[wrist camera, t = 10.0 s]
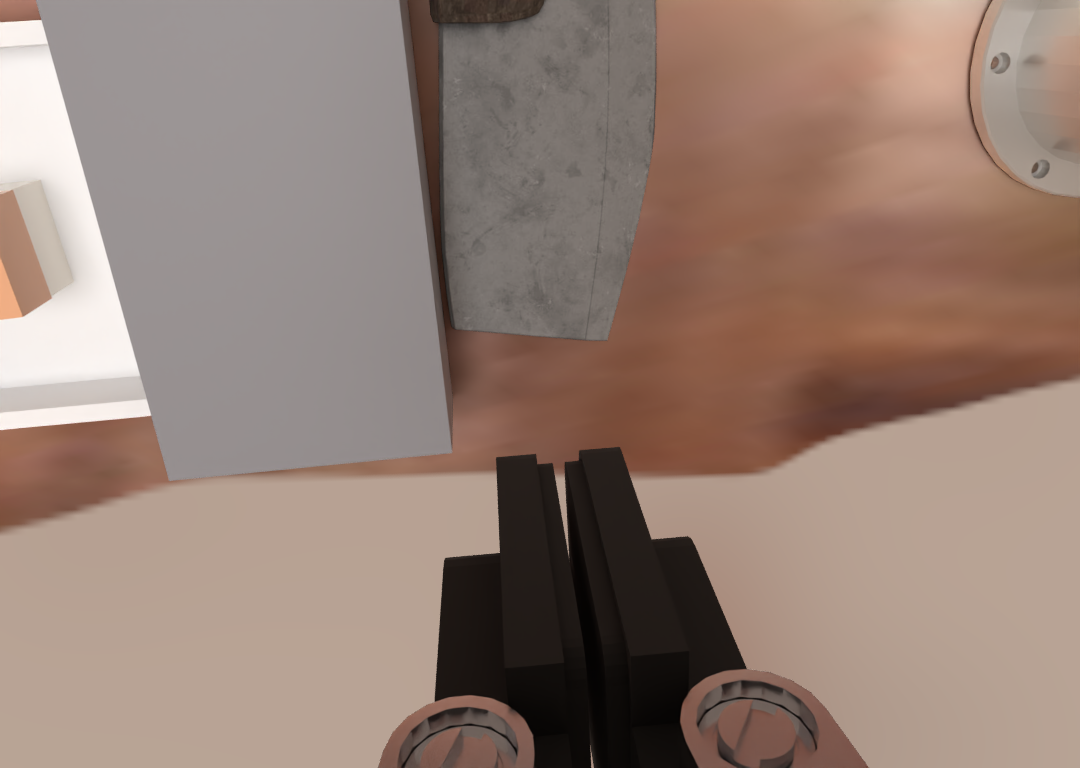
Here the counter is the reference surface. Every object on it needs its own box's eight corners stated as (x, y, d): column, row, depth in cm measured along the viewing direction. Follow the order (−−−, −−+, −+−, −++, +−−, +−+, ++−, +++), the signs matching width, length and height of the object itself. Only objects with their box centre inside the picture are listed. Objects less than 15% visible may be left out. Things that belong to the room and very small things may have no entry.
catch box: (102, 20, 33) (63, 18, 30) (193, 383, 39) (169, 414, 36) (-163, 36, 32) (-231, 37, 29) (-27, 403, 39) (-70, 436, 35)
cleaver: (408, -443, 29) (405, -476, 27) (682, -428, 29) (697, -460, 28) (446, 343, 40) (446, 359, 39) (640, 336, 41) (649, 352, 39)
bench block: (401, -54, 33) (390, -72, 27) (452, 396, 41) (452, 452, 35) (96, -36, 32) (21, -51, 27) (208, 419, 40) (169, 480, 35)
